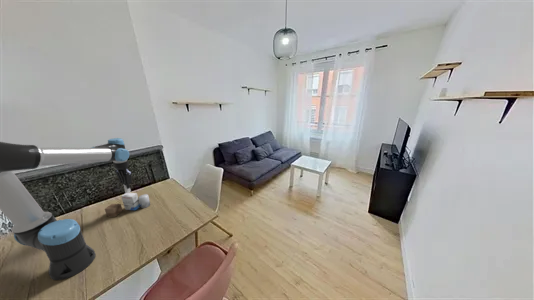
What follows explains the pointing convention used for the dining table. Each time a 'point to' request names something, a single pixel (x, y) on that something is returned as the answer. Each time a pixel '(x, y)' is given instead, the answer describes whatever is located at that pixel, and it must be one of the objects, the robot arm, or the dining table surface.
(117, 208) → the walnut block
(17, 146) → the robot arm
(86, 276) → the dining table surface
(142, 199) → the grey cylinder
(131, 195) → the ink box
